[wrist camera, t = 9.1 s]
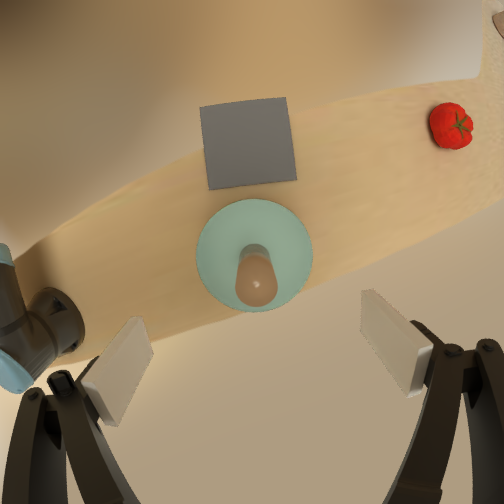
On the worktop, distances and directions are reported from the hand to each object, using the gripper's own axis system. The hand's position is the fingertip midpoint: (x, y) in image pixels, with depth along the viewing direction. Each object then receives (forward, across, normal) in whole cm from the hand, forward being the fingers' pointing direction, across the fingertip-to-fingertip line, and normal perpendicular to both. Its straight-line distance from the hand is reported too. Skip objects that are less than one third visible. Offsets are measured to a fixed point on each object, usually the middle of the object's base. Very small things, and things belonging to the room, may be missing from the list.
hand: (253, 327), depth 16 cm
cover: (+17, 0, 0) cm, 17 cm away
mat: (+31, +2, +15) cm, 34 cm away
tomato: (+31, +40, +17) cm, 53 cm away
